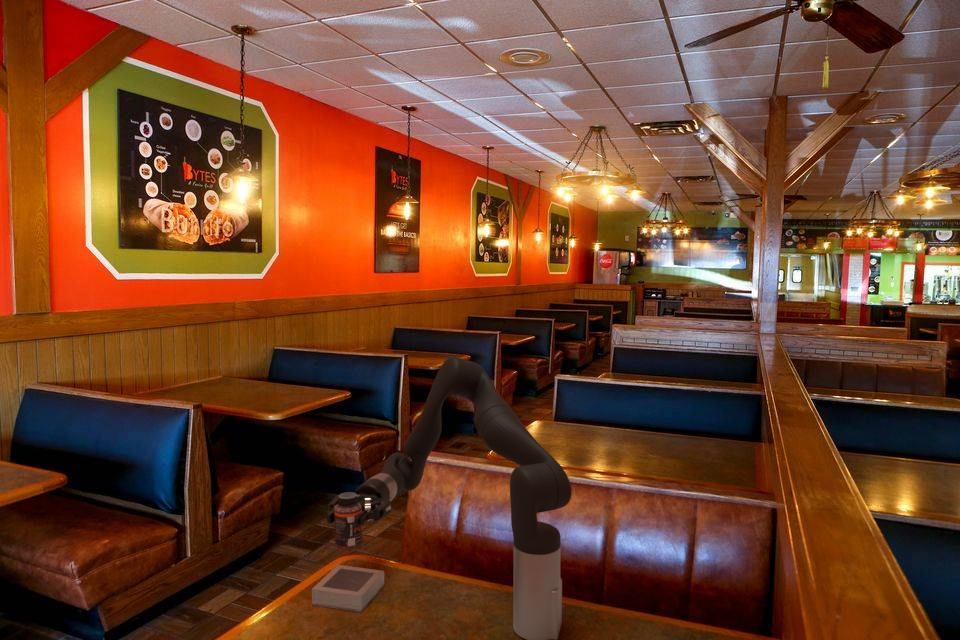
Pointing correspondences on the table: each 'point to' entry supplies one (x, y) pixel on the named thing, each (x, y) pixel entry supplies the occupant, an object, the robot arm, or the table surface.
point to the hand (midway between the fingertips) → (342, 520)
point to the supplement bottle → (347, 522)
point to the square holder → (348, 588)
